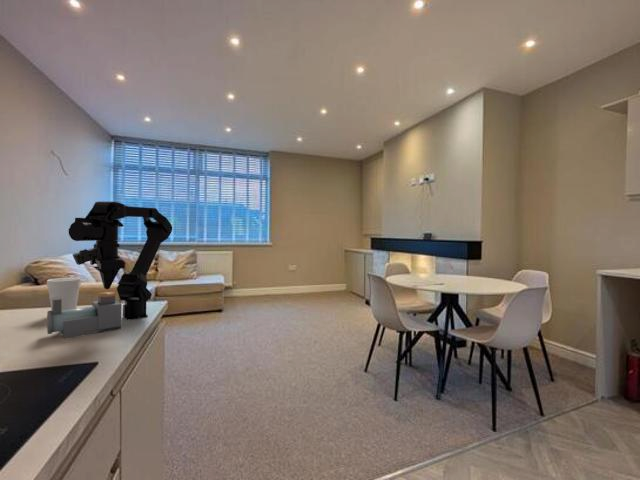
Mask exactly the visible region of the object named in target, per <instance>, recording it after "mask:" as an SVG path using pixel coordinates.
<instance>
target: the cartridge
mask: <svg viewBox="0 0 640 480" xmlns="http://www.w3.org/2000/svg"><path fill="white" fill-rule="evenodd" d="M61 301H62V299H61V298H60V297H56V298H52V309H51V310H47V313H46V331H47V335H52V334H53V333H57V332H60V331H63V321H65V320H71V319H78V318H85V317H92V316H96V312H95V307H94V306H92V305H91V306H87V307H86V306H85V307H78V308H77V307H76V309H68V310H61Z"/></svg>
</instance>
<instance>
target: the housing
mask: <svg viewBox="0 0 640 480" xmlns="http://www.w3.org/2000/svg"><path fill="white" fill-rule="evenodd" d="M92 306H94V307H95V312H96V316H92V317H85V318H78V319H71V320H65V321H63V331H59V333H60V334H61V336H62V338H63V340H68V339H73V338H78V337H84V336H91V335H95V334H101V333H106V332H113V331H117V330H121V329H122V303H121V302H119V301H118V300H117V299H115V303H111V304H103V305H99V304H98V300H93V301H92V303H91V307H92Z"/></svg>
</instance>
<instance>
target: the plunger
mask: <svg viewBox="0 0 640 480" xmlns="http://www.w3.org/2000/svg"><path fill="white" fill-rule="evenodd" d="M97 297H98V299H97V301H98V304H99V305H103V304H111V303H115V300H116V292H115V291H105V292H99V293H97Z"/></svg>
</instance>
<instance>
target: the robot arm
mask: <svg viewBox="0 0 640 480" xmlns="http://www.w3.org/2000/svg"><path fill="white" fill-rule="evenodd" d="M130 217H132V218H133V217H134V218H142V220H143V225H144V227H145V228H146V231H145V232H146V241H145V243H144V244H143V247H142V249H141V251H140V253H139V255H138V257H137V259H136V262H135V263H134V266H133V267H132V269H131V271H130V272H129V273H122V275H121V277H120V280H118V282H117V288H116V291H117V294H118V297H119V300H120V301H123V302H124V304H123V305H122V317H123V318H124V319H126V321H130V320H131V321H132V320H137V319H142V318H148V317H149V315H148V314H147V302H148V301H149V300H151V298H152V293H151V291H150V290H149V289H148V288H147V286H148V279H147V274H148V273H149V270H150V268H151V265H152V264H153V262H154V259H155V257H156V255H157V253H158V250H159V248H160V246H161V244H162V243H163V242H164V241H167V239H168V238H169V237H170V235H171V234H172V232H173V226H172V224H171V222H170V221H169V219H168V217H165V216H164V215H163V214H162V213H160V212H159V210H158V209H157V207H153V206H152V207H150V206H149V207H147V206H145V207H144V206H130V205H127V204H124V203H122V202H119V201H104V200H103V201H95V203H93V206H92V208H91V209H90V210H89V212H88V213H87V215H86V216H85V217H75V218H74V222H72V223H71V224H70V226H69V228H68V236H69V237H70V239H71V240H73V241H75V242H88V241H91V242H94V241H95V242H94V244H93V248H89V249H86V248H84V249H82V250H79V252H76V253H72V257H73V259H74V262H75V263H76V265H79V266H80V265H84V264H85V263H87V262H89V264H90V265H91V266H93V268H94V269H95V270H96V271H98V273H99V275H100V279H101V282H102V286H103V288H104V290H110V289H111V286H112V285H113V283H114V281H115V279H116V276H118V273H119V272H120V270H121V269H126V261H125V260H123V259H121V258H120V256H119V253H118V251H119V249H118V248H120V243H119V227H121V228H123V227H124V224H123V223H122V222H121V221H120V219H124V218H130ZM151 219H153V220H151ZM94 265H96V266H94Z"/></svg>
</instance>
